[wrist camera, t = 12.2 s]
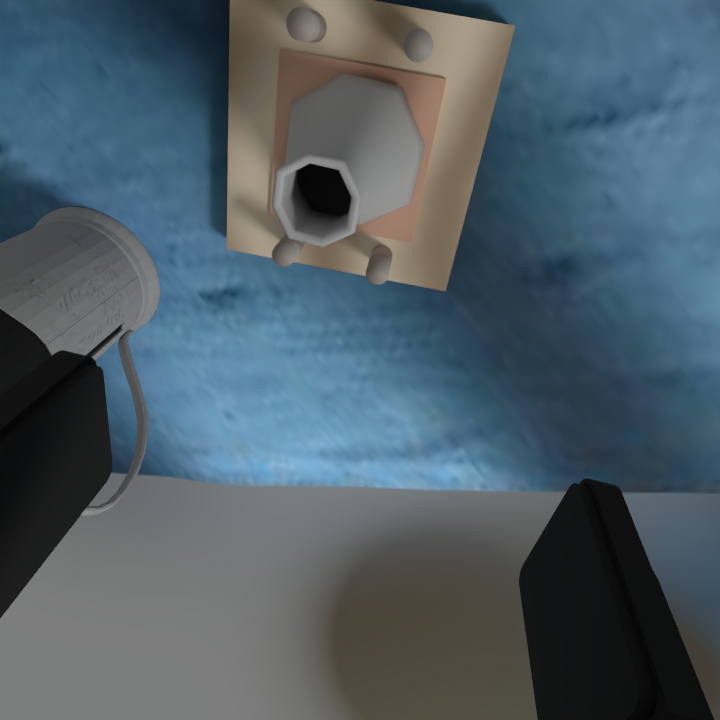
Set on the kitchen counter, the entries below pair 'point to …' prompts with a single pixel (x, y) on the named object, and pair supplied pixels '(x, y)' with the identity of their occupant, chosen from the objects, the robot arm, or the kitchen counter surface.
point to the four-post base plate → (377, 62)
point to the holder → (76, 302)
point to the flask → (346, 159)
